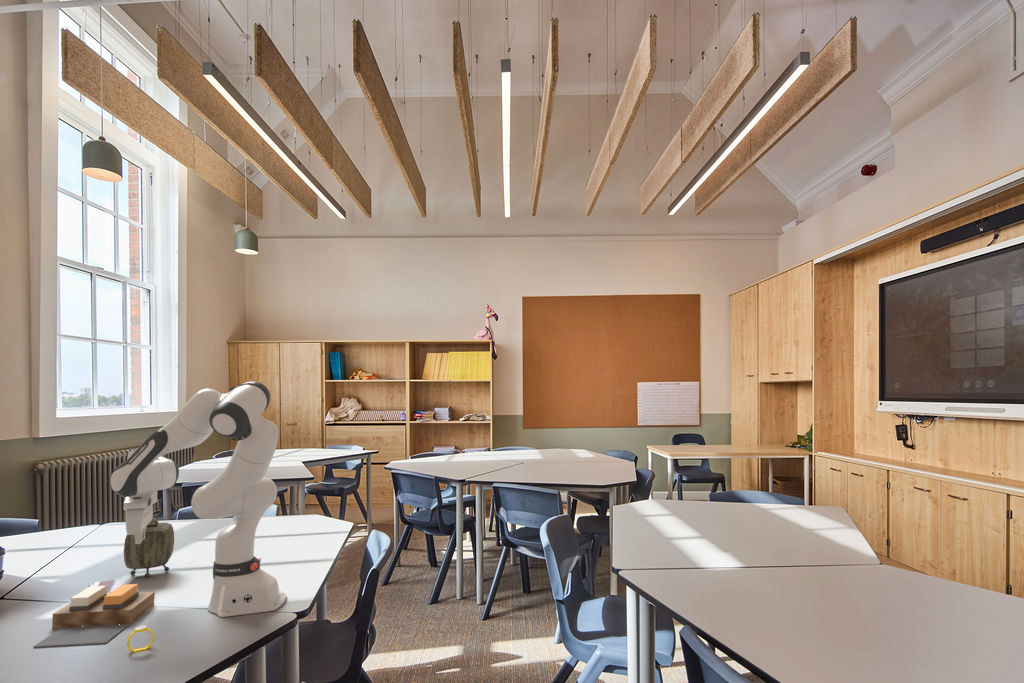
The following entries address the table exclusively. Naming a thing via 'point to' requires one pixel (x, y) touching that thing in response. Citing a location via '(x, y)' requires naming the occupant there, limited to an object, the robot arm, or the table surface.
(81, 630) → the mat
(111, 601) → the eraser orange
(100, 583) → the mobile phone
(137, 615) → the riser
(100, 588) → the block
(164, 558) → the tabletop clock
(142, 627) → the watch
